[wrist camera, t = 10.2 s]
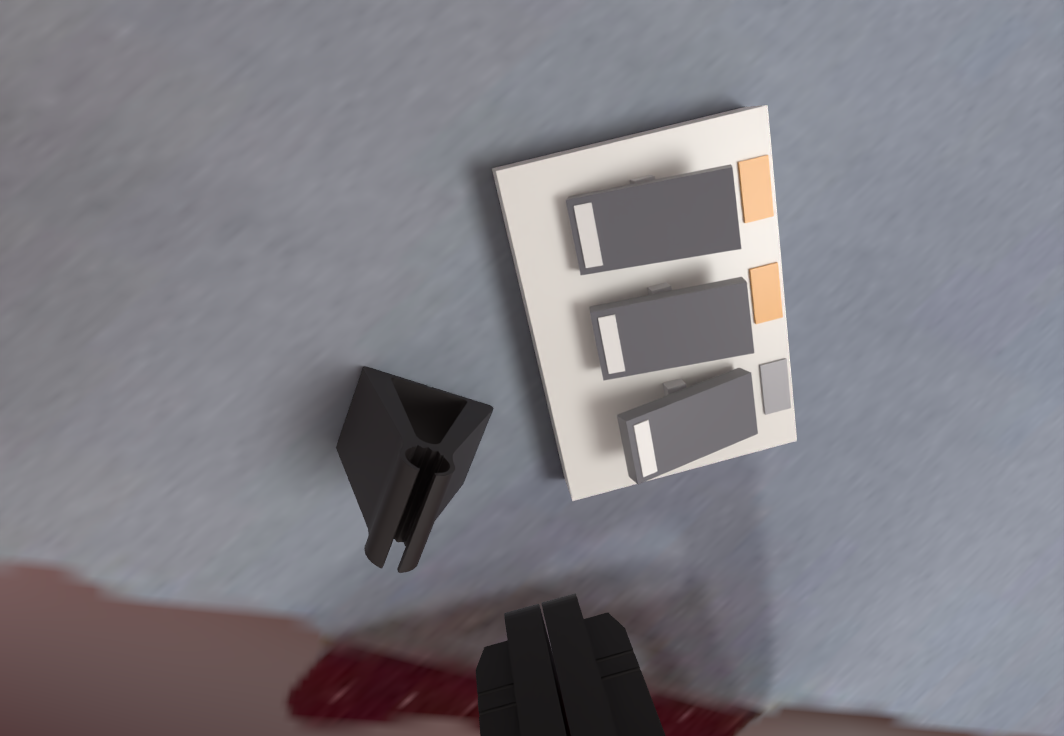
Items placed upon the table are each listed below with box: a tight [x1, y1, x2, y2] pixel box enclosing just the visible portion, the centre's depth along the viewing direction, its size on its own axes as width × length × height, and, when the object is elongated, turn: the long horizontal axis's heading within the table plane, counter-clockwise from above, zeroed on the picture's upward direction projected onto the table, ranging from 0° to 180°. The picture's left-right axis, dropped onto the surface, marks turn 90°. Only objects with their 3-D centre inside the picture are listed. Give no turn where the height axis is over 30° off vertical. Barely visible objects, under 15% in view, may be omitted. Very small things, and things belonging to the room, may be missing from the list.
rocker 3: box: [617, 368, 758, 484], centre depth 42 cm, size 4×9×1 cm, turn 103°
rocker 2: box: [589, 277, 754, 381], centre depth 40 cm, size 4×9×1 cm, turn 103°
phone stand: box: [336, 367, 493, 573], centre depth 39 cm, size 9×6×12 cm, turn 68°
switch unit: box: [492, 105, 797, 501], centre depth 42 cm, size 22×16×4 cm
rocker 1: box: [566, 164, 741, 275], centre depth 37 cm, size 4×9×1 cm, turn 103°
